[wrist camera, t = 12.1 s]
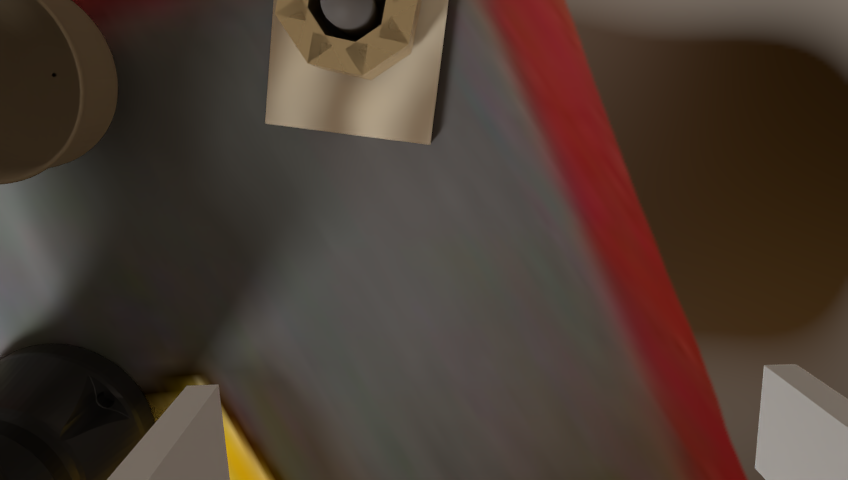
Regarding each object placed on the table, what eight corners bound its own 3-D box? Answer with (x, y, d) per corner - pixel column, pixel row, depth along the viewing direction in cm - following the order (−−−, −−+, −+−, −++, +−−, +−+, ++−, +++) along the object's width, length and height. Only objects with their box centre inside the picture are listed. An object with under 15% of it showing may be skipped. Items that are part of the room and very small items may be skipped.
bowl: (50, 200, 46) (-51, 225, 36) (-58, 49, 44) (-197, 32, 34) (186, 115, 44) (118, 117, 35) (82, -45, 42) (-22, -91, 32)
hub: (269, 123, 45) (234, 126, 37) (286, -114, 41) (251, -167, 33) (430, 143, 45) (430, 151, 37) (460, -90, 41) (467, -137, 33)
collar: (343, 99, 42) (329, 97, 36) (276, -4, 41) (251, -23, 35) (440, 34, 41) (442, 21, 35) (374, -74, 40) (365, -105, 34)
